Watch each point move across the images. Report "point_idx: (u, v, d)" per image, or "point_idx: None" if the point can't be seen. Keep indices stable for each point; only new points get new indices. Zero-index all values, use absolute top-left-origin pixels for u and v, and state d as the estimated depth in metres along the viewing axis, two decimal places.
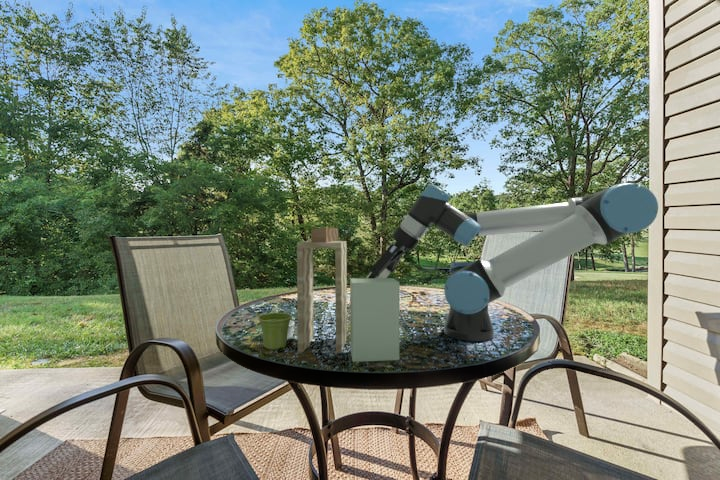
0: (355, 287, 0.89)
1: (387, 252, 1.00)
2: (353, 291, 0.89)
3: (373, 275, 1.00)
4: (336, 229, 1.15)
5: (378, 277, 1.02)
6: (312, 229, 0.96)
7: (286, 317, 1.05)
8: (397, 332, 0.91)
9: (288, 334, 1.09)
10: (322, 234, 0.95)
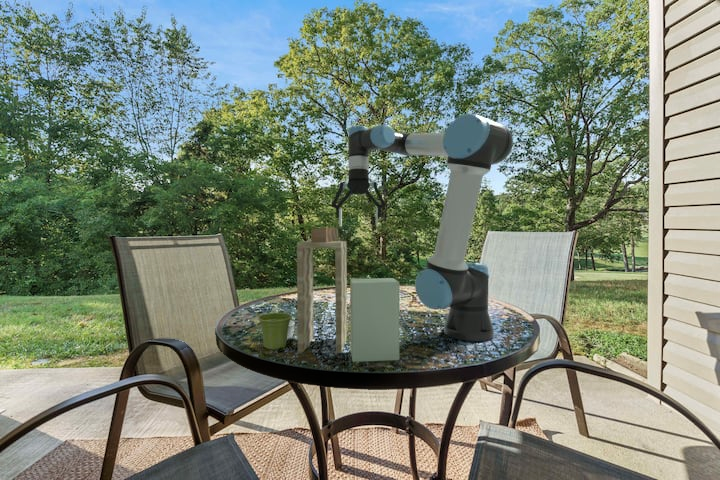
0: (355, 287, 0.89)
1: None
2: (353, 291, 0.89)
3: (336, 209, 1.33)
4: (336, 229, 1.15)
5: (340, 209, 1.31)
6: (312, 229, 0.96)
7: (286, 317, 1.05)
8: (397, 332, 0.91)
9: (288, 334, 1.09)
10: (322, 234, 0.95)
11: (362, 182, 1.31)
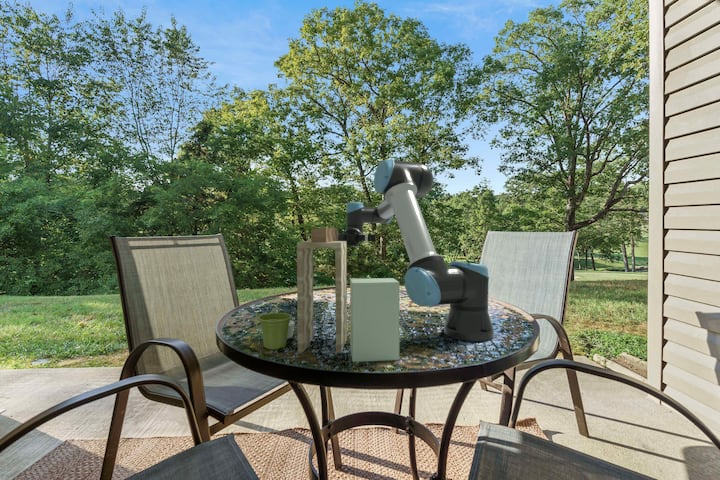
0: (355, 287, 0.89)
1: None
2: (353, 291, 0.89)
3: None
4: (336, 229, 1.15)
5: None
6: (312, 229, 0.96)
7: (286, 317, 1.05)
8: (397, 332, 0.91)
9: (288, 334, 1.09)
10: (322, 234, 0.95)
11: None
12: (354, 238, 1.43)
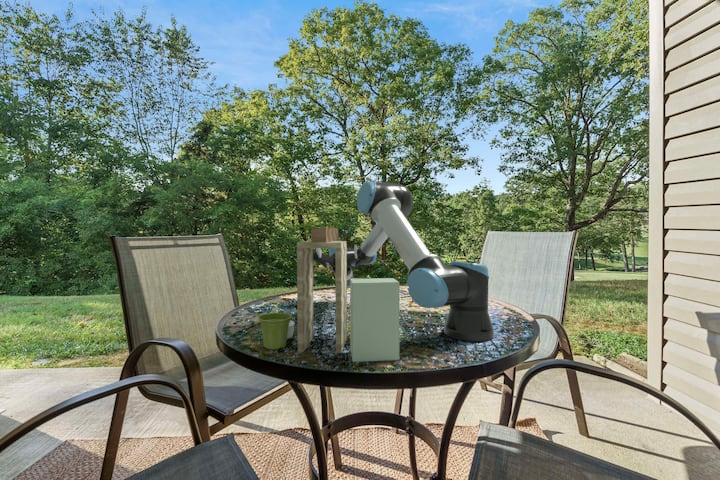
0: (355, 287, 0.89)
1: None
2: (353, 291, 0.89)
3: None
4: (336, 229, 1.15)
5: (321, 251, 1.33)
6: (312, 229, 0.96)
7: (286, 317, 1.05)
8: (397, 332, 0.91)
9: (288, 334, 1.09)
10: (322, 234, 0.95)
11: None
12: None
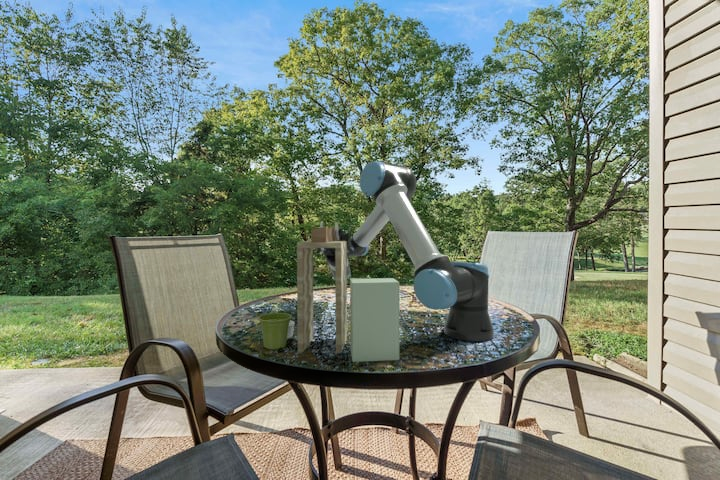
0: (355, 287, 0.89)
1: None
2: (353, 291, 0.89)
3: None
4: None
5: None
6: (312, 229, 0.96)
7: (286, 317, 1.05)
8: (397, 332, 0.91)
9: (288, 334, 1.09)
10: (322, 234, 0.95)
11: None
12: None
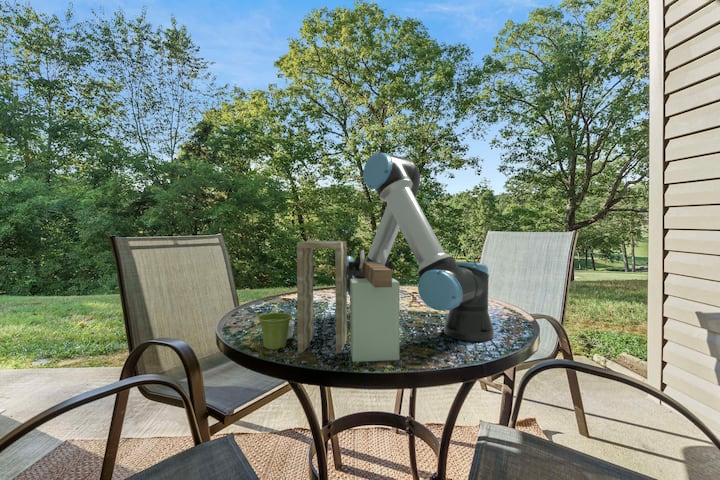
0: (355, 287, 0.89)
1: (348, 277, 1.09)
2: (353, 291, 0.89)
3: (355, 263, 1.03)
4: (378, 263, 1.02)
5: None
6: (376, 272, 0.82)
7: (286, 317, 1.05)
8: (397, 332, 0.91)
9: (288, 334, 1.09)
10: (388, 278, 0.82)
11: None
12: None
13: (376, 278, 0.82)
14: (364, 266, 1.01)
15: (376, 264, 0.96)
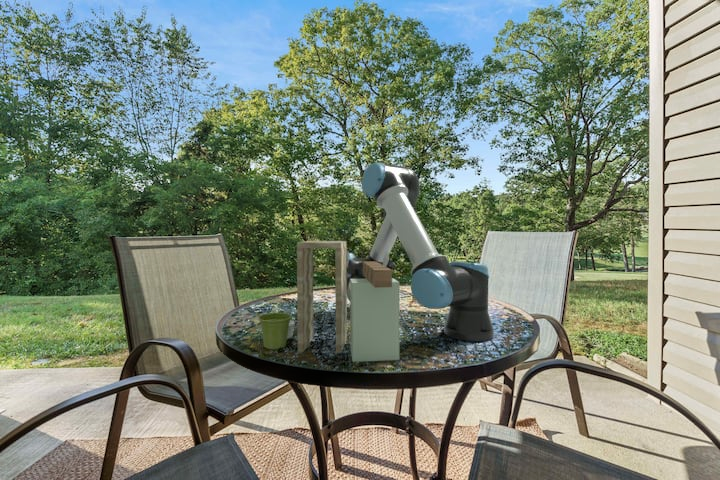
0: (355, 287, 0.89)
1: None
2: (353, 291, 0.89)
3: None
4: (378, 263, 1.02)
5: None
6: (376, 272, 0.82)
7: (286, 317, 1.05)
8: (397, 332, 0.91)
9: (288, 334, 1.09)
10: (388, 278, 0.82)
11: None
12: None
13: (376, 278, 0.82)
14: (364, 266, 1.01)
15: (376, 264, 0.96)
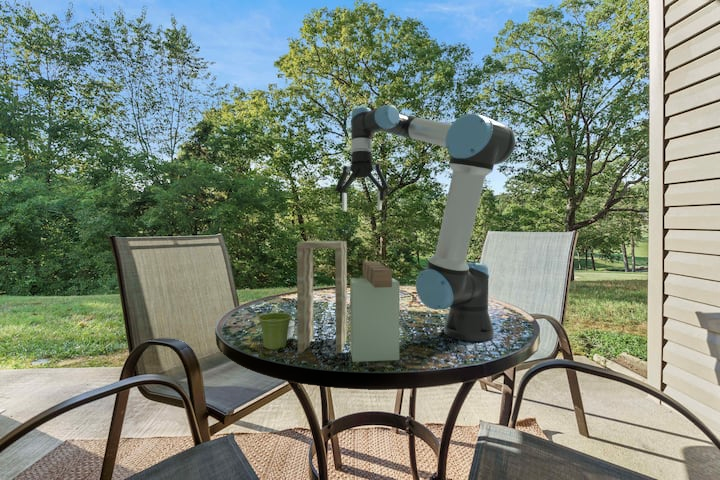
0: (355, 287, 0.89)
1: None
2: (353, 291, 0.89)
3: None
4: (378, 263, 1.02)
5: (344, 193, 1.31)
6: (376, 272, 0.82)
7: (286, 317, 1.05)
8: (397, 332, 0.91)
9: (288, 334, 1.09)
10: (388, 278, 0.82)
11: (364, 165, 1.28)
12: (365, 177, 1.30)
13: (376, 278, 0.82)
14: (364, 266, 1.01)
15: (376, 264, 0.96)
